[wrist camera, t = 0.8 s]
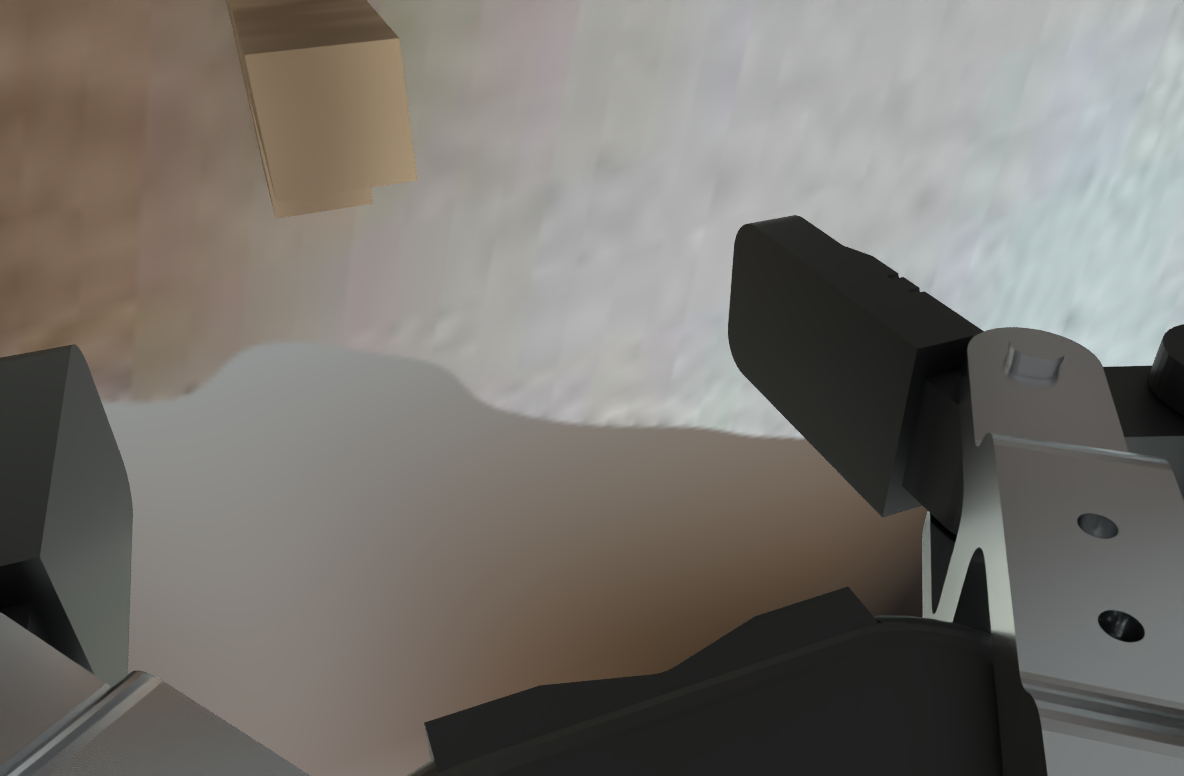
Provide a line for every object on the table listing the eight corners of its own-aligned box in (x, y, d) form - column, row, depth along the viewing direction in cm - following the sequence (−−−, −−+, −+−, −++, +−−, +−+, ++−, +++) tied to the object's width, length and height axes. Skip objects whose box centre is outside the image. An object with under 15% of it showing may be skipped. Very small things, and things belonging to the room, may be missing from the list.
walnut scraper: (295, -209, 26) (369, -196, 17) (357, 171, 32) (437, 337, 23) (180, -206, 25) (190, -190, 16) (267, 184, 31) (311, 362, 22)
